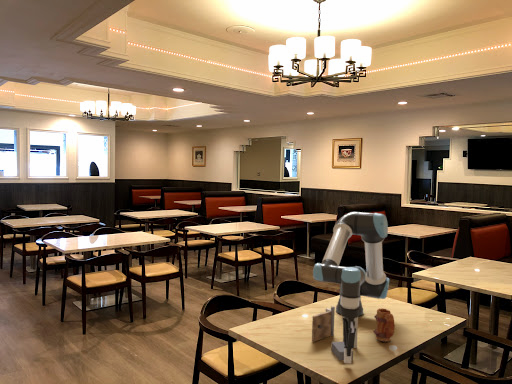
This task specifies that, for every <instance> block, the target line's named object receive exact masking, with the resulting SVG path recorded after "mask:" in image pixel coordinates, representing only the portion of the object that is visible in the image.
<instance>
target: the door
mask: <svg viewBox="0 0 512 384" xmlns="http://www.w3.org/2000/svg"><path fill="white" fill-rule="evenodd" d="M331 312H332V311H327V312H326V311H324V312H322V313H318V314H315V315H312V323H311V327H312V328H311V329H312V330H311V342H313V343H315V342H317V341H320V340H323V339H326V338H328V337H332V336H331Z"/></svg>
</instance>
